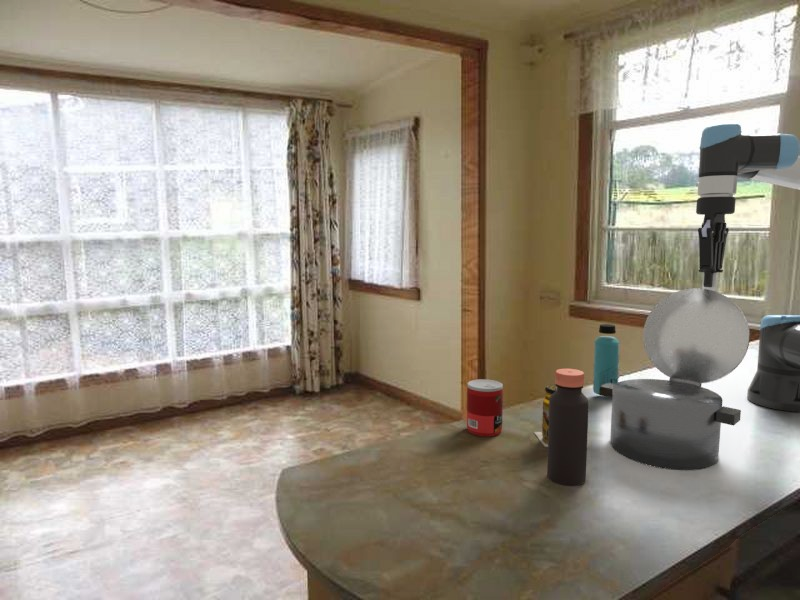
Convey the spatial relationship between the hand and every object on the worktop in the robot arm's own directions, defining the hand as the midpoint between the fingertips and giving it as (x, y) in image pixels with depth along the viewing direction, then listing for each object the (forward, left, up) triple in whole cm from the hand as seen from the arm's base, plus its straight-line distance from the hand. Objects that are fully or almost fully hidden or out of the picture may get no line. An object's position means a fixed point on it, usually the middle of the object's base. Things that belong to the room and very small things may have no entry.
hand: (708, 300), depth 123 cm
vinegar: (+49, -7, -29) cm, 58 cm away
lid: (+10, 0, -7) cm, 12 cm away
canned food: (+41, -32, -29) cm, 60 cm away
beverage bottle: (-1, -24, -29) cm, 37 cm away
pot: (+23, 0, -29) cm, 37 cm away
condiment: (+34, -18, -29) cm, 48 cm away
